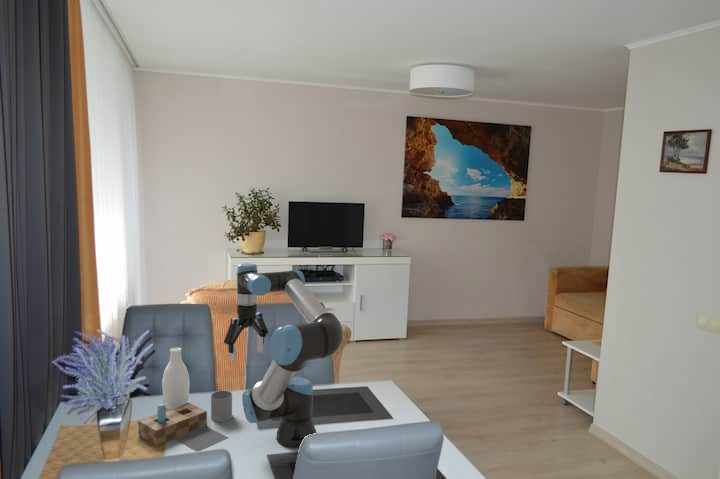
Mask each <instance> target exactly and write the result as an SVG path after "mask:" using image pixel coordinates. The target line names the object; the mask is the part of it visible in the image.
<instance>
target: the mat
mask: <svg viewBox="0 0 720 479" xmlns="http://www.w3.org/2000/svg"><path fill="white" fill-rule="evenodd" d="M227 439H229V437H228V436H226V435H224V434H223V433H220V432H219V431H217V430H215V429H213V428H210V427H209V426H203V427H200V428H198V429H196V430H193V431H191V432H188V433H186V434H183V435H181V436H179V437H176V438H174V440H175V441H177V442H178V443H180V444H182V445H184V446H186V447H187V448H189V449H190V450H191V449H192V450H193V451H194V452H197V451H199V452H201V451H203V450H205V449H207V448H209V447H212V446H214V445H216V444H219V443H221V442H223V441H225V440H227Z"/></svg>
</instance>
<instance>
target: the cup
mask: <svg viewBox="0 0 720 479" xmlns="http://www.w3.org/2000/svg"><path fill="white" fill-rule="evenodd" d="M210 411H211V412H210V415H211V416H210V420H212V422H216V423H224V422H229V421H230V420H232V419H233V392H231V391H229V390H217V391H214V392H212V393H211V395H210Z"/></svg>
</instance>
